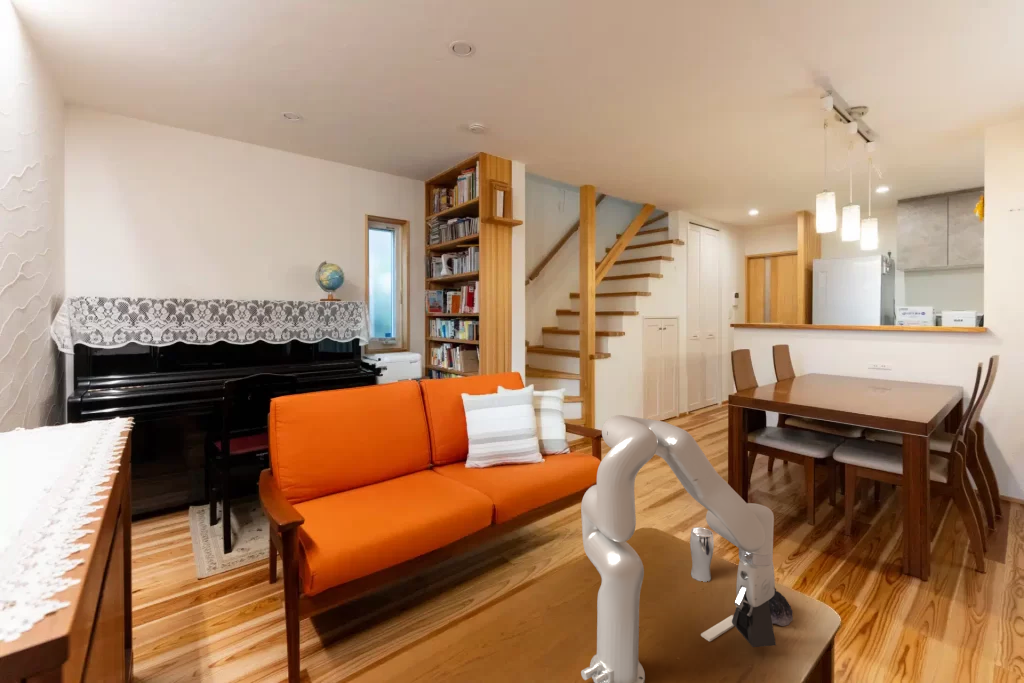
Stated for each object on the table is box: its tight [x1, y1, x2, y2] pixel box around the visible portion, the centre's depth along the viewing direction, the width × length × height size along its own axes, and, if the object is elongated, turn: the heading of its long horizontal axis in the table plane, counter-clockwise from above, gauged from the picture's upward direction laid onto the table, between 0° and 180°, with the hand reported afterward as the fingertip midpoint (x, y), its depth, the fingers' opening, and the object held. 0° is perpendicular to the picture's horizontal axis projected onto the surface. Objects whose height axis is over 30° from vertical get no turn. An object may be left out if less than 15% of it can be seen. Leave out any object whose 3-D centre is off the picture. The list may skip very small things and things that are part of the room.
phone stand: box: [732, 597, 777, 648], centre depth 114 cm, size 9×6×12 cm, turn 5°
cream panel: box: [700, 614, 735, 642], centre depth 120 cm, size 14×2×1 cm, turn 122°
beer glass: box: [689, 526, 714, 583], centre depth 144 cm, size 7×7×15 cm
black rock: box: [769, 588, 794, 627], centre depth 127 cm, size 13×14×10 cm
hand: (753, 622), depth 114 cm, fingers closed on phone stand, 6 cm apart
